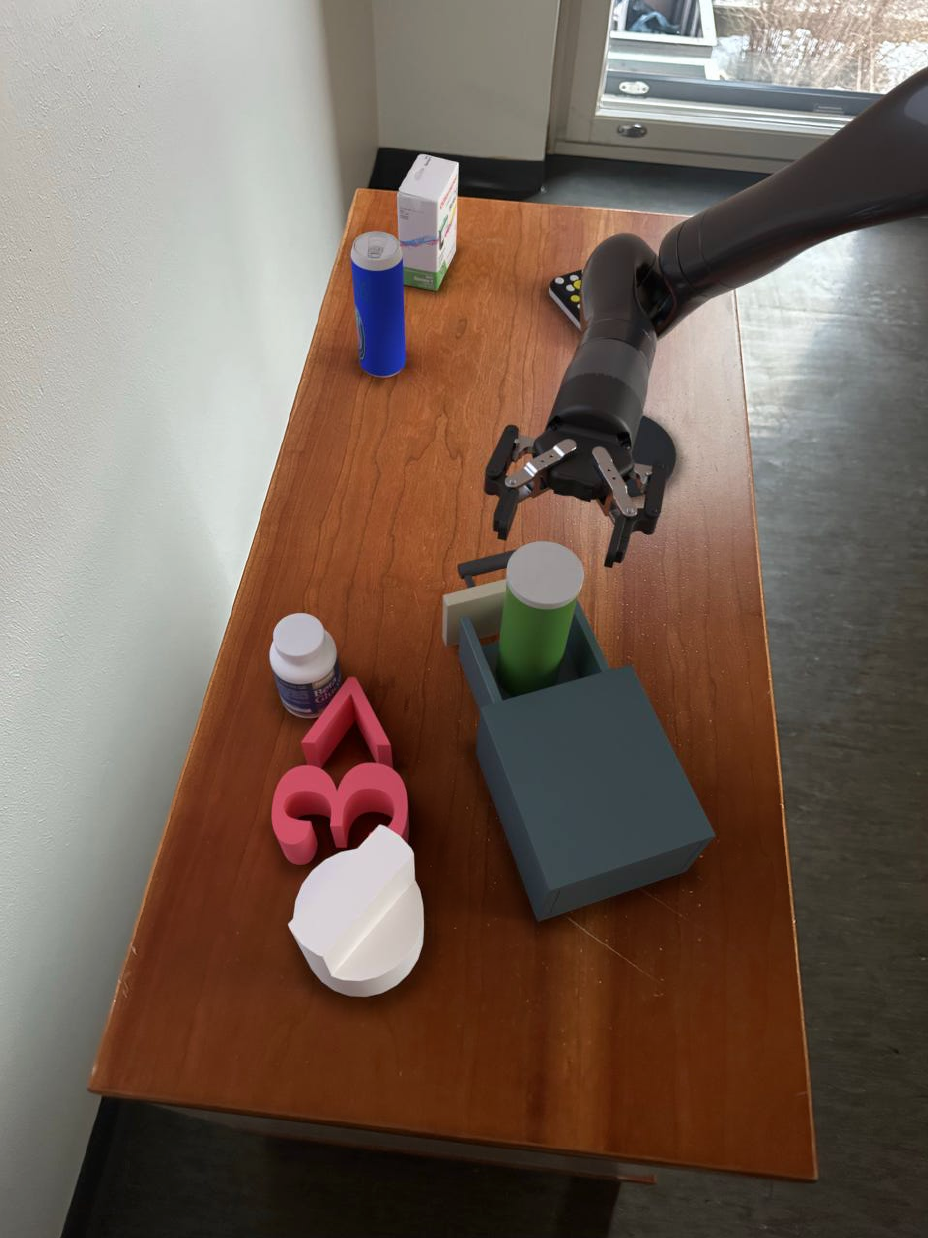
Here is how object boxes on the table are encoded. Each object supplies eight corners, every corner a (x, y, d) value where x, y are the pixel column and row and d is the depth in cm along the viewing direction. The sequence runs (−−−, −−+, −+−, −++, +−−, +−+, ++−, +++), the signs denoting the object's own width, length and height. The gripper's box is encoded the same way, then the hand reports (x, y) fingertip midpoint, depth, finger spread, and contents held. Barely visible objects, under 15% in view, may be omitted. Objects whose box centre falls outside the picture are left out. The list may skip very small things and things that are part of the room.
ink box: (437, 292, 107) (438, 201, 97) (398, 284, 108) (395, 192, 98) (457, 250, 111) (460, 158, 101) (419, 242, 112) (418, 150, 102)
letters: (300, 702, 77) (292, 674, 73) (417, 707, 77) (416, 679, 73) (276, 864, 70) (266, 843, 65) (406, 869, 70) (404, 849, 65)
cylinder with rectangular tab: (361, 850, 70) (349, 793, 60) (448, 925, 68) (451, 879, 57) (278, 940, 67) (251, 896, 56) (367, 1025, 64) (355, 994, 54)
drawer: (428, 599, 82) (427, 555, 76) (543, 570, 84) (551, 525, 79) (491, 771, 73) (497, 736, 68) (618, 732, 76) (634, 695, 70)
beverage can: (363, 346, 101) (354, 226, 89) (408, 350, 101) (405, 231, 89) (356, 378, 99) (345, 259, 86) (402, 382, 99) (398, 264, 86)
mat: (646, 402, 98) (647, 398, 98) (694, 482, 92) (696, 478, 92) (544, 425, 96) (544, 421, 95) (587, 508, 90) (588, 505, 89)
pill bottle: (327, 729, 76) (314, 673, 68) (270, 708, 77) (250, 651, 69) (353, 676, 79) (344, 617, 70) (298, 657, 80) (282, 596, 71)
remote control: (600, 356, 102) (602, 342, 100) (543, 291, 108) (545, 277, 106) (645, 340, 103) (648, 326, 102) (587, 277, 109) (589, 263, 108)
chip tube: (545, 637, 79) (566, 533, 66) (568, 690, 76) (596, 592, 64) (485, 653, 78) (496, 550, 65) (507, 708, 75) (522, 612, 63)
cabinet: (475, 753, 75) (480, 706, 68) (612, 712, 78) (631, 663, 70) (537, 922, 68) (550, 890, 61) (686, 871, 70) (715, 835, 63)
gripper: (523, 352, 75) (468, 493, 67) (691, 390, 73) (657, 540, 65) (516, 417, 81) (465, 554, 73) (670, 454, 80) (636, 598, 71)
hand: (555, 547), depth 69 cm, fingers open, 8 cm apart
